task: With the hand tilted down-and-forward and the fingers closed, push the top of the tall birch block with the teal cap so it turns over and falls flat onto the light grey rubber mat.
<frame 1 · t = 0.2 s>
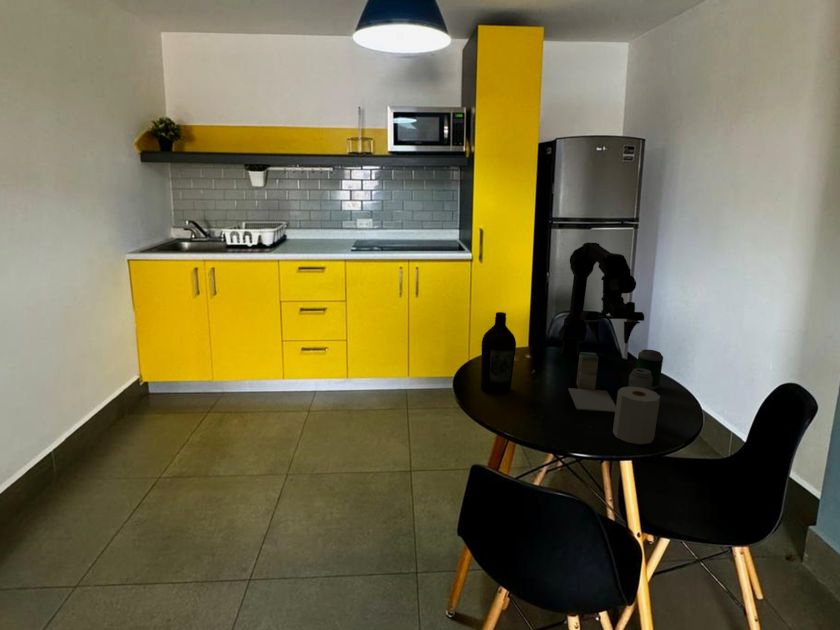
hand: (611, 343, 182), 15 cm above the table, tool pointing down, fingers open, 9 cm apart
toilet paper: (633, 436, 153), on the table
rubber mat: (592, 400, 176), on the table
birch block: (585, 387, 186), on the table
olive oil: (495, 390, 181), on the table
energy drink can: (635, 421, 162), on the table
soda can: (646, 387, 188), on the table
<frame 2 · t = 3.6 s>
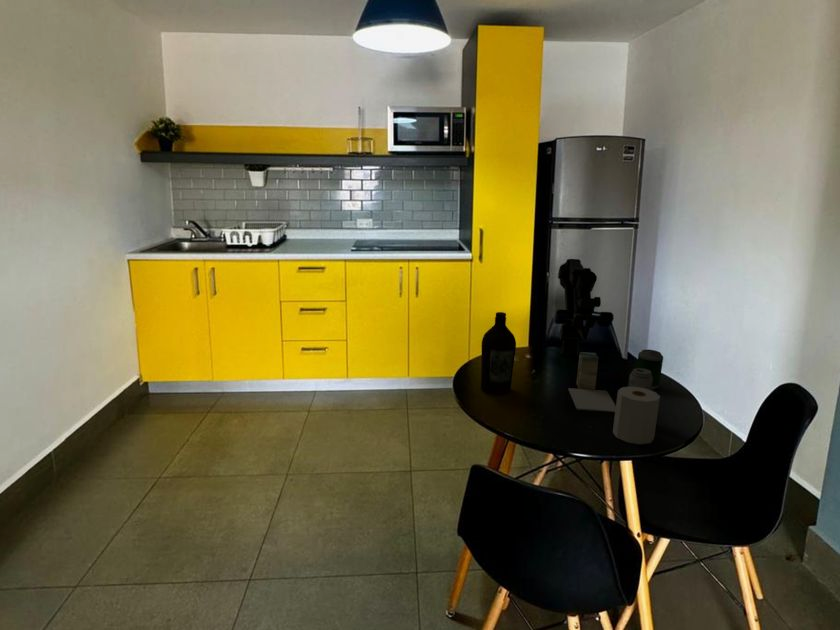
hand: (584, 339, 191), 13 cm above the table, tool tilted 45°, fingers closed
nothing on the table moved.
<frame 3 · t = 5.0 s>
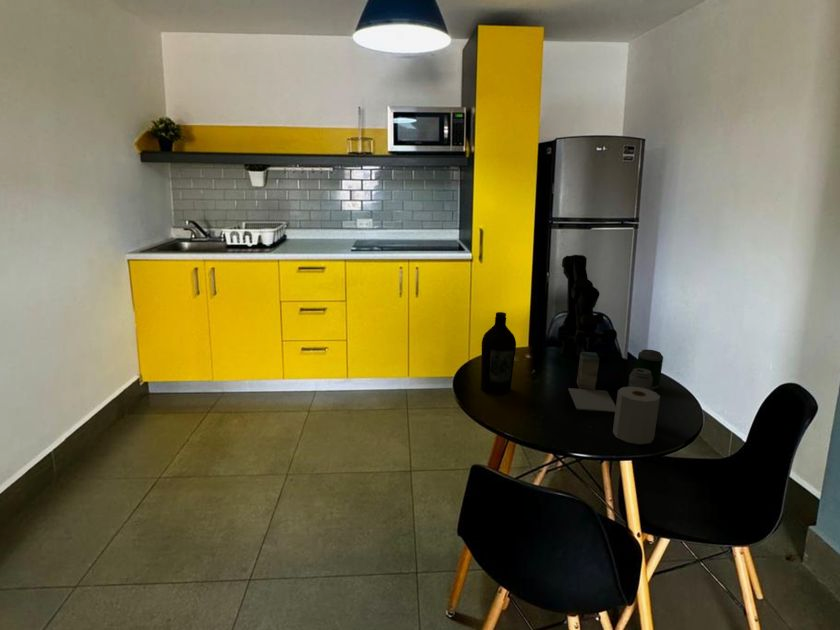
hand: (587, 357, 186), 9 cm above the table, tool tilted 45°, fingers closed, pressing on birch block
birch block: (585, 386, 186), on the table, tilted 6°, touching gripper
everything else where it was.
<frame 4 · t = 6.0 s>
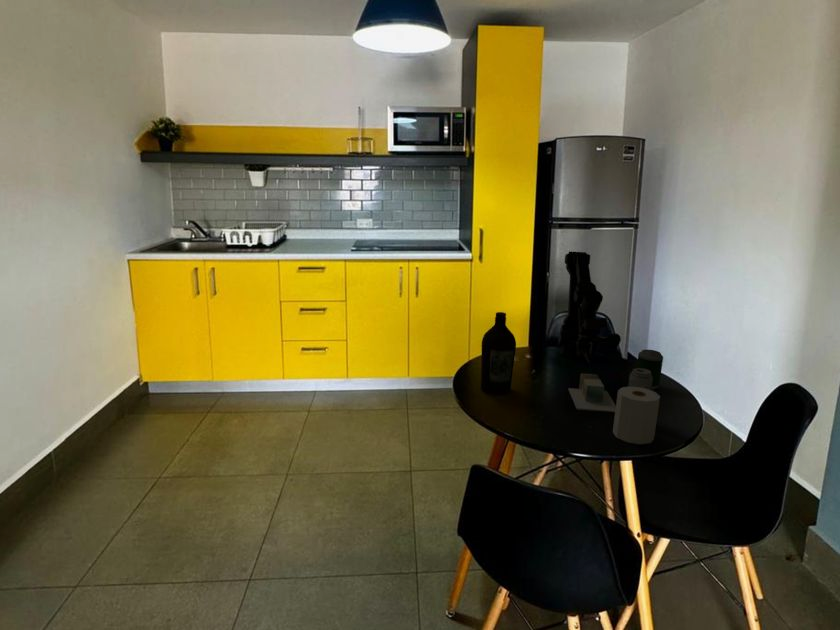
hand: (590, 363, 181), 9 cm above the table, tool tilted 45°, fingers closed
birch block: (587, 381, 183), point 3 cm above the table, tilted 90°, touching rubber mat
everything else where it was.
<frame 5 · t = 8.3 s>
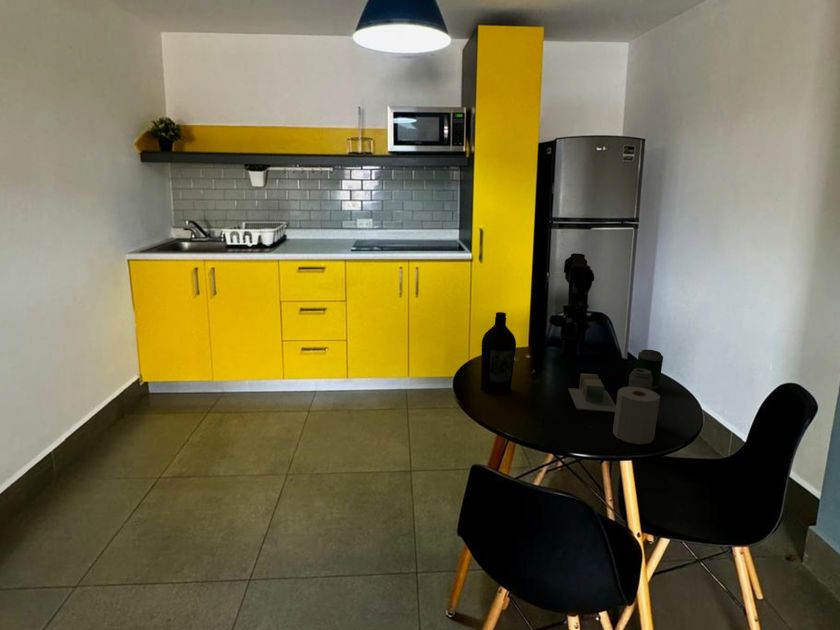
hand: (576, 344, 194), 11 cm above the table, tool tilted 30°, fingers closed
nothing on the table moved.
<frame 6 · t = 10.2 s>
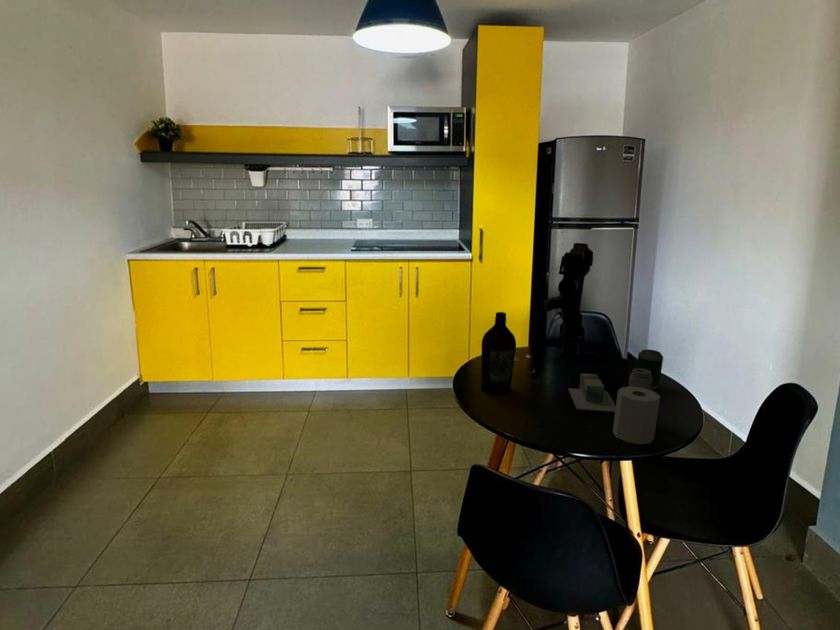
hand: (566, 334, 199), 13 cm above the table, tool pointing down, fingers closed
nothing on the table moved.
at the end: birch block tilted 90°; birch block 8.8 cm from the rubber mat (horizontally); birch block point 2.9 cm above the table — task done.
